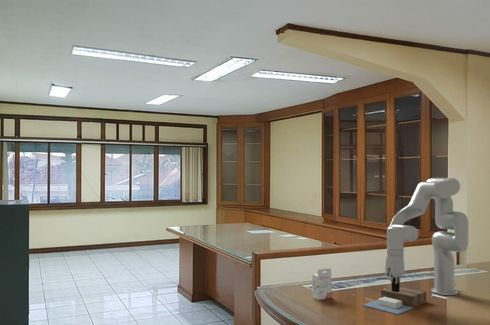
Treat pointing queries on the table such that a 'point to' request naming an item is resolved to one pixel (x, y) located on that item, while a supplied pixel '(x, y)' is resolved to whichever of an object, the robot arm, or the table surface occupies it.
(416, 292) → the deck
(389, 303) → the block
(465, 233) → the robot arm
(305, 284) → the table surface
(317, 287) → the ink cartridge box
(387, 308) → the mat
